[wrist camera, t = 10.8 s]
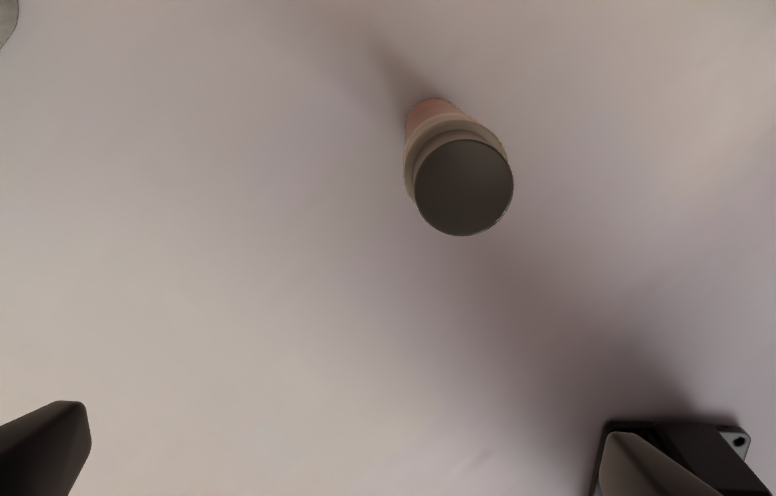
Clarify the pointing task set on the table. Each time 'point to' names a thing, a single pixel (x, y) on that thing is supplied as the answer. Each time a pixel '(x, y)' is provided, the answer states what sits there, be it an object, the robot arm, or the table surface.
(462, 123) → the capped glue stick
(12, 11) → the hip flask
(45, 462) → the robot arm
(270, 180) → the table surface
